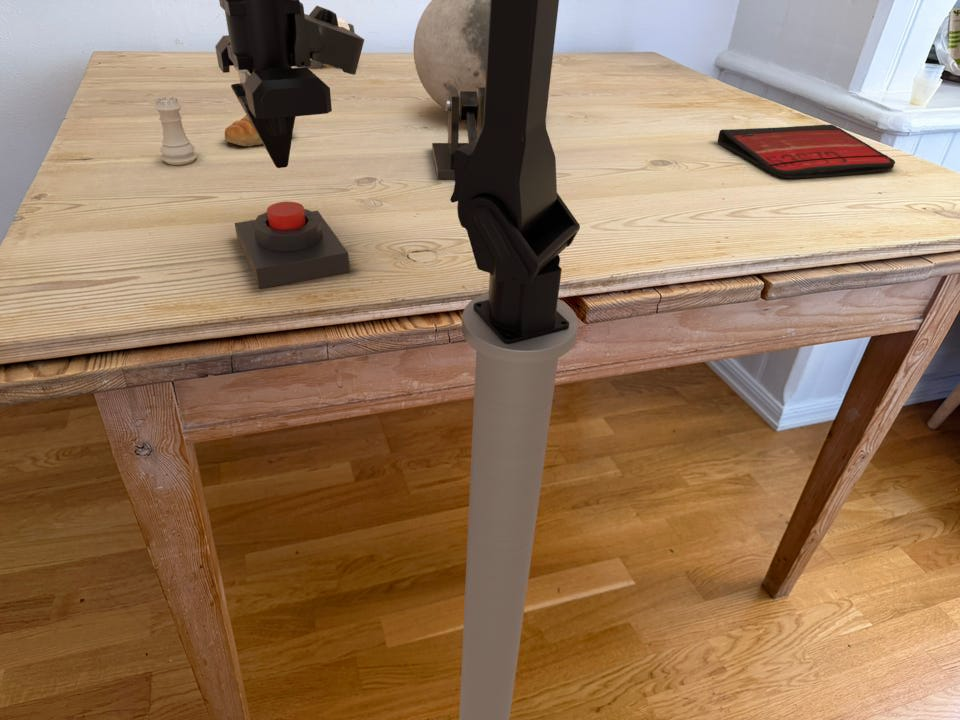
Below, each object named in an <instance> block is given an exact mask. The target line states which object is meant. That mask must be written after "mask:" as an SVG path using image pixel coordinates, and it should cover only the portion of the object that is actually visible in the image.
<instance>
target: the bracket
mask: <svg viewBox="0 0 960 720" xmlns="http://www.w3.org/2000/svg"><path fill="white" fill-rule="evenodd" d="M484 102H485V88H480V87H479V88H478V105H479V107H478V116H477V120H476V129H477V136H478V137H479V135H480V133H481V130H482V126H483V120H484ZM445 111H446V112H448V113H447V116H448V117H447V119H448V120H447V123H448V125H447V142H432V143H431V152H432V157H433V162H434V167H435V171H436V176H437V180H455V174H454V166H453V160H454V153H455V151H456V150H457V149H459V148H461V147H463V146H465V145H467V144H469V142H459V136H460V134H459V133H460V129H459V128H460V116H459V94H458V92H457V89H456V87H449V100H446V110H445Z"/></svg>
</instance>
